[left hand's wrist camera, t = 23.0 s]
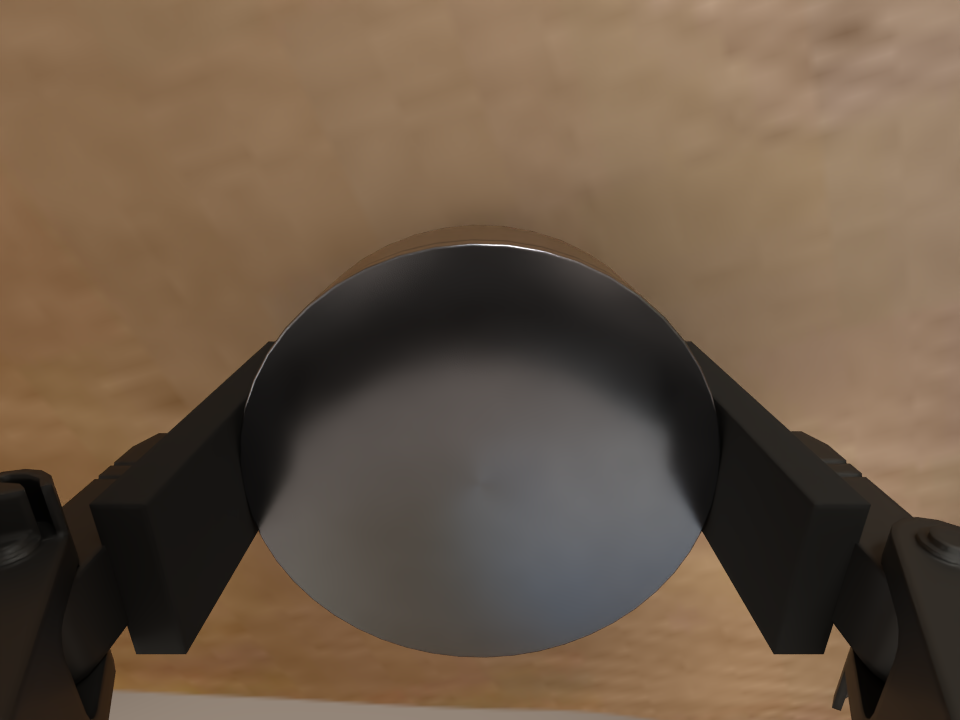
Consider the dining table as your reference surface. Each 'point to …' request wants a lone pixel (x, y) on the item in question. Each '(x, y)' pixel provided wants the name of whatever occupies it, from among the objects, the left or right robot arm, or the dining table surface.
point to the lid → (480, 444)
